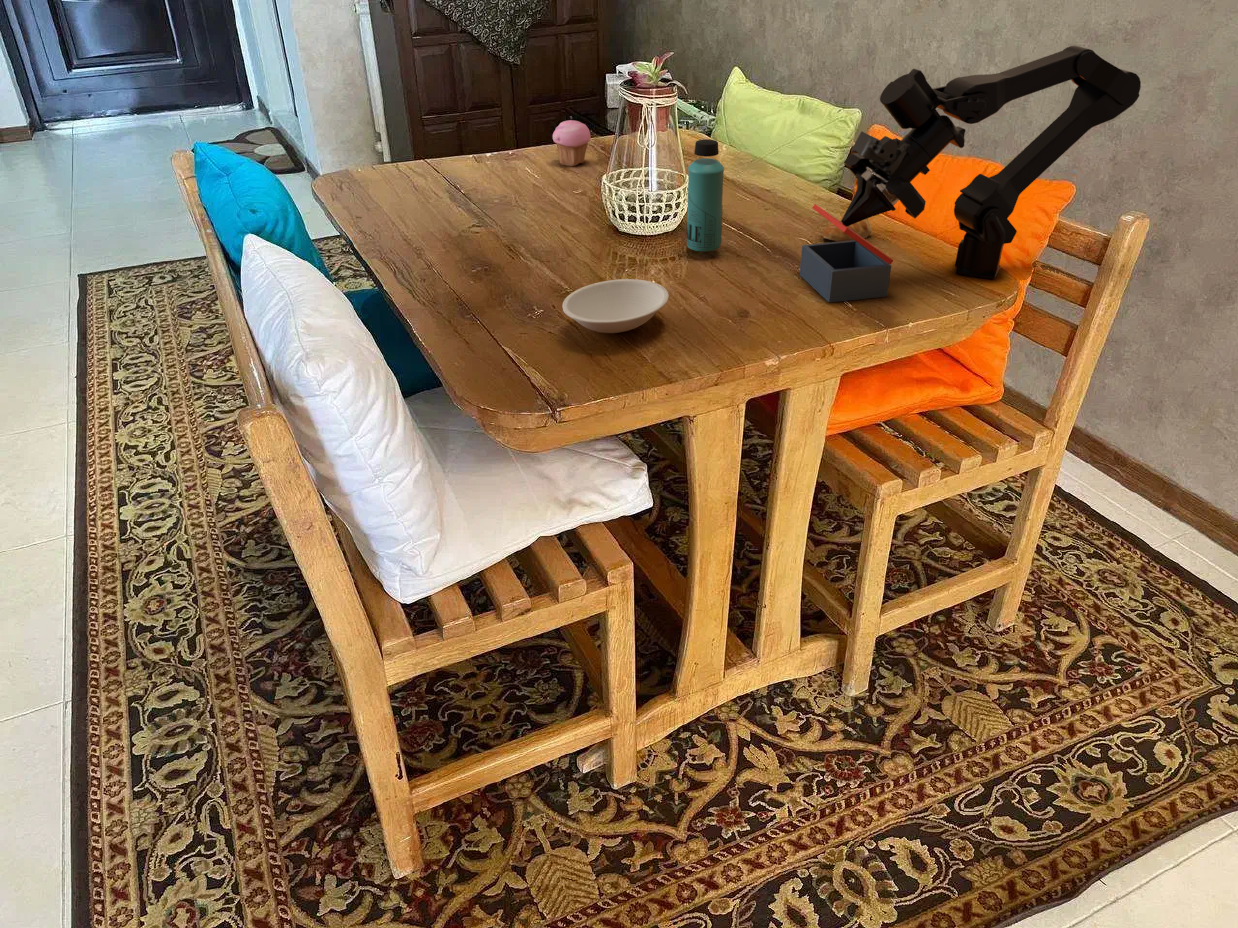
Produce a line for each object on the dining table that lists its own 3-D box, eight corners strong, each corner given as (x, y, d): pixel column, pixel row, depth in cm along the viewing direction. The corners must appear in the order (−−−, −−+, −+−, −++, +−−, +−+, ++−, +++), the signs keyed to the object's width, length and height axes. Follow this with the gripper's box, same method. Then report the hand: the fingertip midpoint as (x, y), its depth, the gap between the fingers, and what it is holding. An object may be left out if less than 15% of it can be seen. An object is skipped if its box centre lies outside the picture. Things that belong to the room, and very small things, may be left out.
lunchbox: (828, 303, 147) (832, 271, 144) (799, 274, 158) (802, 245, 155) (887, 296, 149) (891, 265, 146) (853, 269, 159) (857, 239, 157)
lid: (843, 232, 141) (846, 227, 141) (811, 207, 152) (814, 203, 151) (890, 265, 146) (893, 260, 146) (856, 239, 156) (859, 235, 156)
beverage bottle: (726, 250, 168) (731, 137, 157) (713, 262, 163) (718, 147, 152) (693, 245, 171) (696, 134, 160) (679, 257, 166) (682, 143, 155)
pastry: (841, 247, 169) (843, 227, 167) (813, 238, 173) (815, 218, 171) (874, 236, 173) (876, 216, 171) (845, 227, 178) (848, 208, 176)
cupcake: (570, 157, 224) (568, 114, 219) (598, 162, 220) (597, 119, 215) (547, 166, 218) (544, 122, 213) (576, 171, 214) (574, 126, 209)
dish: (620, 300, 149) (619, 271, 147) (689, 324, 141) (690, 293, 139) (542, 336, 138) (540, 305, 136) (612, 363, 130) (612, 331, 128)
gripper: (862, 100, 147) (791, 175, 151) (919, 127, 132) (838, 209, 136) (900, 148, 153) (830, 218, 157) (959, 178, 137) (880, 255, 141)
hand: (843, 224), depth 147 cm, fingers closed
